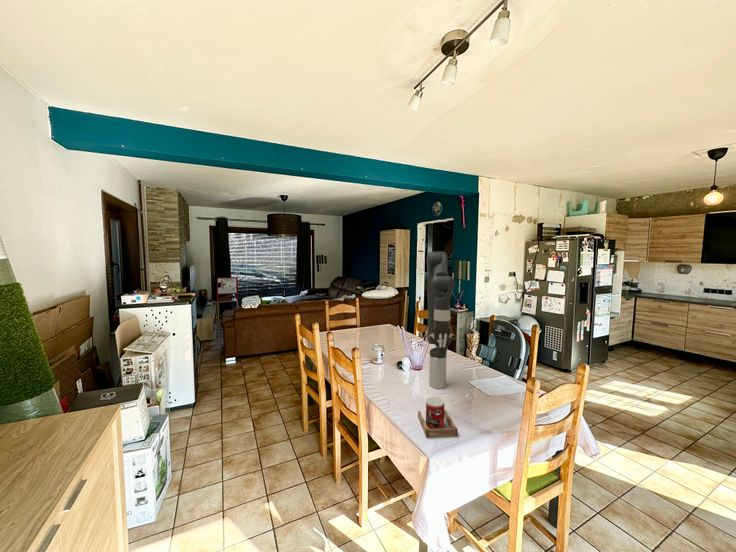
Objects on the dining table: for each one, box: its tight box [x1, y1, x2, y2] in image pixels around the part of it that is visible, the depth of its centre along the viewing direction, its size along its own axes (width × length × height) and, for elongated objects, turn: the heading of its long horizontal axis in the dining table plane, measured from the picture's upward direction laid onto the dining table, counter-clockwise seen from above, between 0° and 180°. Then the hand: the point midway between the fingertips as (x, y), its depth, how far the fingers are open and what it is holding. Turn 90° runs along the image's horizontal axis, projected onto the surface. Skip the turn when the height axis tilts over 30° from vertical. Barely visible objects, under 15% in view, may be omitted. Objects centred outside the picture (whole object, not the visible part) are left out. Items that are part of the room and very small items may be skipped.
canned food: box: [425, 396, 445, 429], centre depth 134 cm, size 8×8×11 cm
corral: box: [417, 409, 459, 439], centre depth 133 cm, size 15×13×3 cm
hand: (441, 354), depth 145 cm, fingers closed
